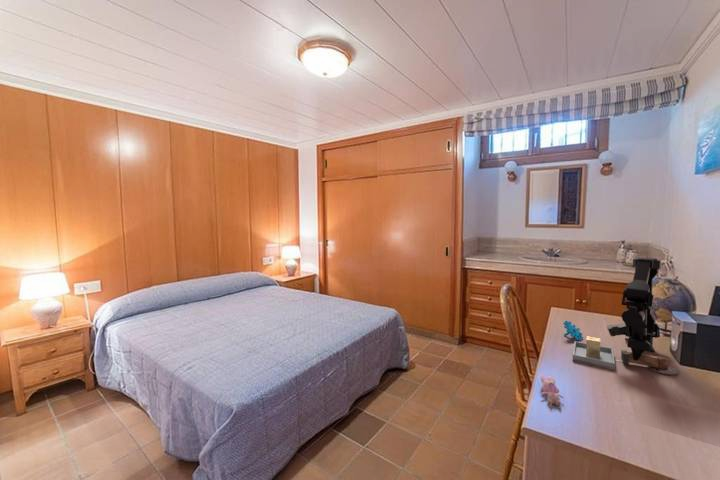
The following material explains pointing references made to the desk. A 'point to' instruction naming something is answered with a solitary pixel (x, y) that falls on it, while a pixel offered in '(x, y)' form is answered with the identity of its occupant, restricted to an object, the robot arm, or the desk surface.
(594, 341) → the stop block
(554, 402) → the rabbit figure
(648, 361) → the crank lever
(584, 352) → the stop tray
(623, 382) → the desk surface
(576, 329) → the blue branched piece
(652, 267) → the robot arm
